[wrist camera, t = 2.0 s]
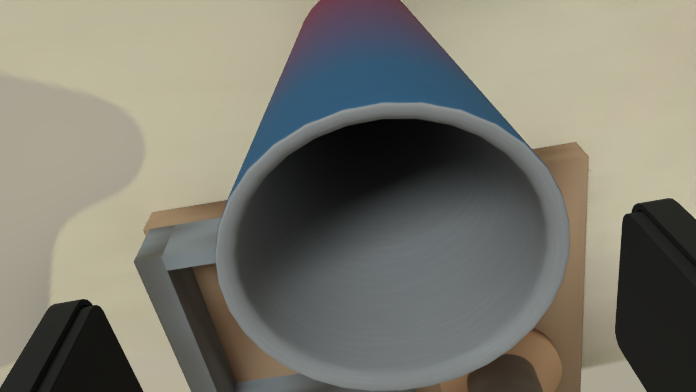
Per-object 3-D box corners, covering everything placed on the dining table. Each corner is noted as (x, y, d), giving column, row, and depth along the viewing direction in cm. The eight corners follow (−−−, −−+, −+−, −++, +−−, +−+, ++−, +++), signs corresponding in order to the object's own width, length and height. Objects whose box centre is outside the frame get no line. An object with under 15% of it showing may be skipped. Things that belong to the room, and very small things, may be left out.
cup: (323, -74, 22) (314, 27, 9) (473, 13, 24) (647, 204, 11) (250, 81, 25) (163, 327, 12) (388, 149, 27) (445, 427, 14)
